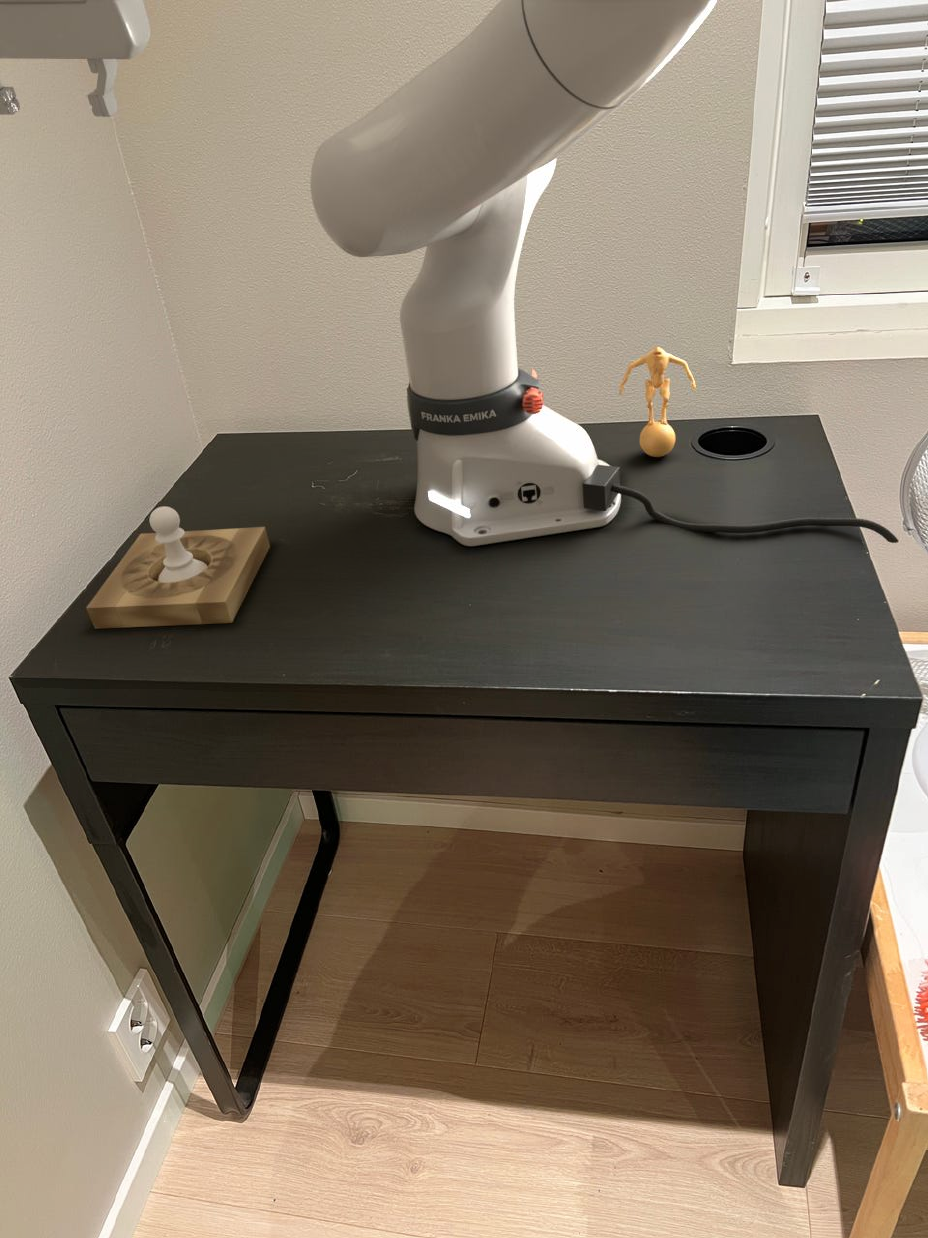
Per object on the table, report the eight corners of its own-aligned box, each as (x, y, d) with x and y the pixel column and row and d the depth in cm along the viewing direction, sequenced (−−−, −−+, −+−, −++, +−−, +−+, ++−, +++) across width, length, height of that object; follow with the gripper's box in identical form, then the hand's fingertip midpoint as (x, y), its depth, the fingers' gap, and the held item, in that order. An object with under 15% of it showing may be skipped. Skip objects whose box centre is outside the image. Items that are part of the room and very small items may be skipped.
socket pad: (270, 546, 99) (265, 526, 98) (232, 623, 88) (225, 601, 86) (147, 553, 101) (140, 533, 100) (94, 629, 90) (85, 608, 88)
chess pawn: (157, 602, 92) (128, 524, 87) (169, 575, 96) (142, 499, 91) (206, 597, 92) (179, 518, 87) (216, 570, 96) (191, 493, 91)
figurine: (620, 464, 105) (618, 361, 98) (621, 441, 110) (619, 342, 103) (695, 461, 104) (698, 357, 97) (693, 438, 108) (696, 337, 101)
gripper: (-158, -72, 69) (-69, 124, 80) (88, -78, 66) (148, 129, 76) (-107, -91, 74) (-29, 98, 84) (128, -97, 70) (179, 101, 80)
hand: (57, 113), depth 80 cm, fingers open, 8 cm apart
